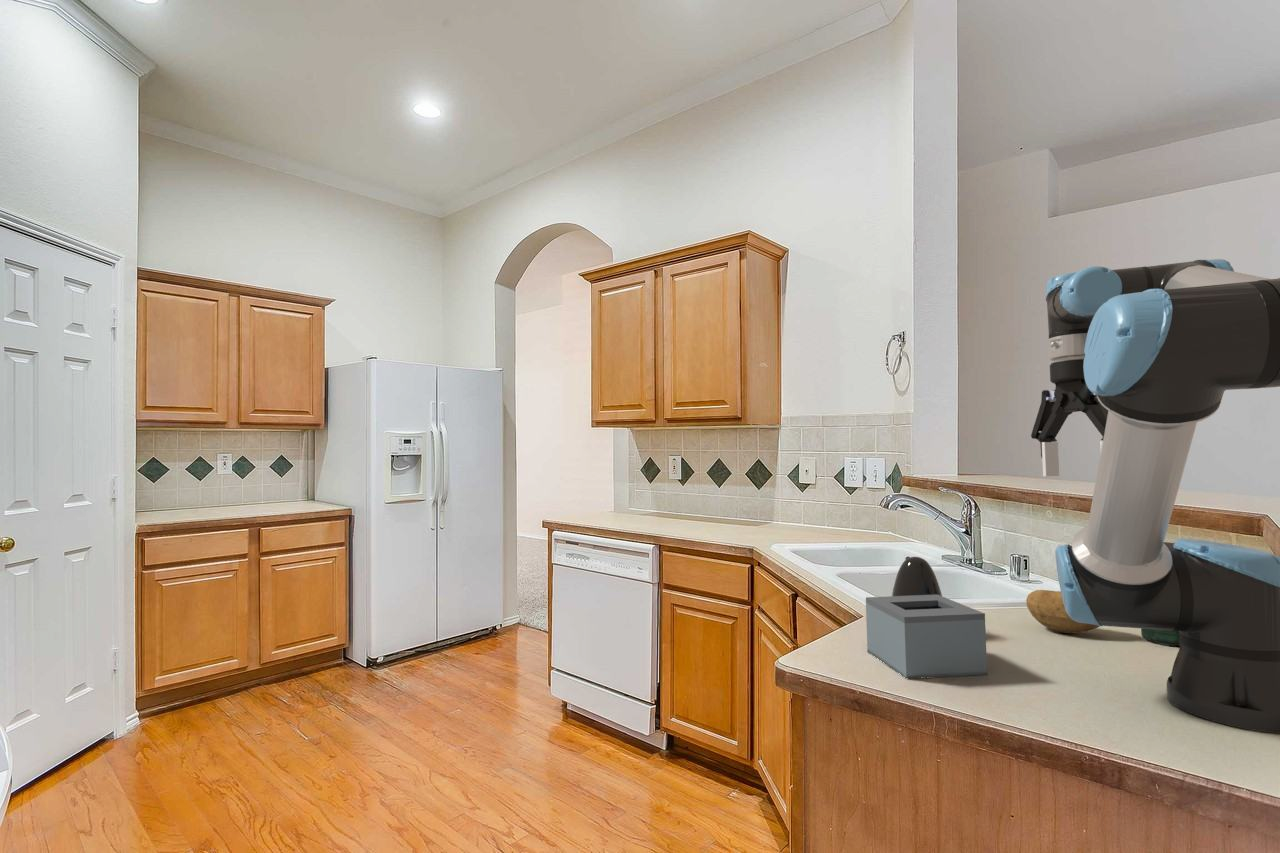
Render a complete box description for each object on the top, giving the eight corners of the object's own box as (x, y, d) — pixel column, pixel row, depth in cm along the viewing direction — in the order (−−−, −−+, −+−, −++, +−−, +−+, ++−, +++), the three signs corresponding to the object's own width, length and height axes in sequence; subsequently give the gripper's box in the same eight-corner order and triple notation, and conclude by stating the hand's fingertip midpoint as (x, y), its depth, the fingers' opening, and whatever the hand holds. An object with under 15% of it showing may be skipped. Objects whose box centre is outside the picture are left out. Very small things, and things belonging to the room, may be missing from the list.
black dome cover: (934, 624, 134) (932, 552, 134) (954, 639, 123) (951, 561, 124) (885, 624, 135) (882, 552, 135) (900, 638, 124) (897, 561, 125)
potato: (1113, 643, 119) (1111, 601, 119) (1026, 632, 127) (1024, 592, 127) (1110, 630, 127) (1108, 590, 127) (1028, 621, 135) (1026, 583, 135)
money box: (987, 674, 104) (984, 613, 104) (906, 679, 103) (904, 617, 103) (939, 648, 118) (937, 594, 118) (867, 651, 117) (865, 597, 117)
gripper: (1008, 369, 126) (1012, 475, 125) (1112, 349, 101) (1119, 481, 101) (1043, 369, 127) (1047, 474, 126) (1155, 349, 102) (1162, 480, 101)
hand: (1079, 477), depth 113 cm, fingers open, 13 cm apart
